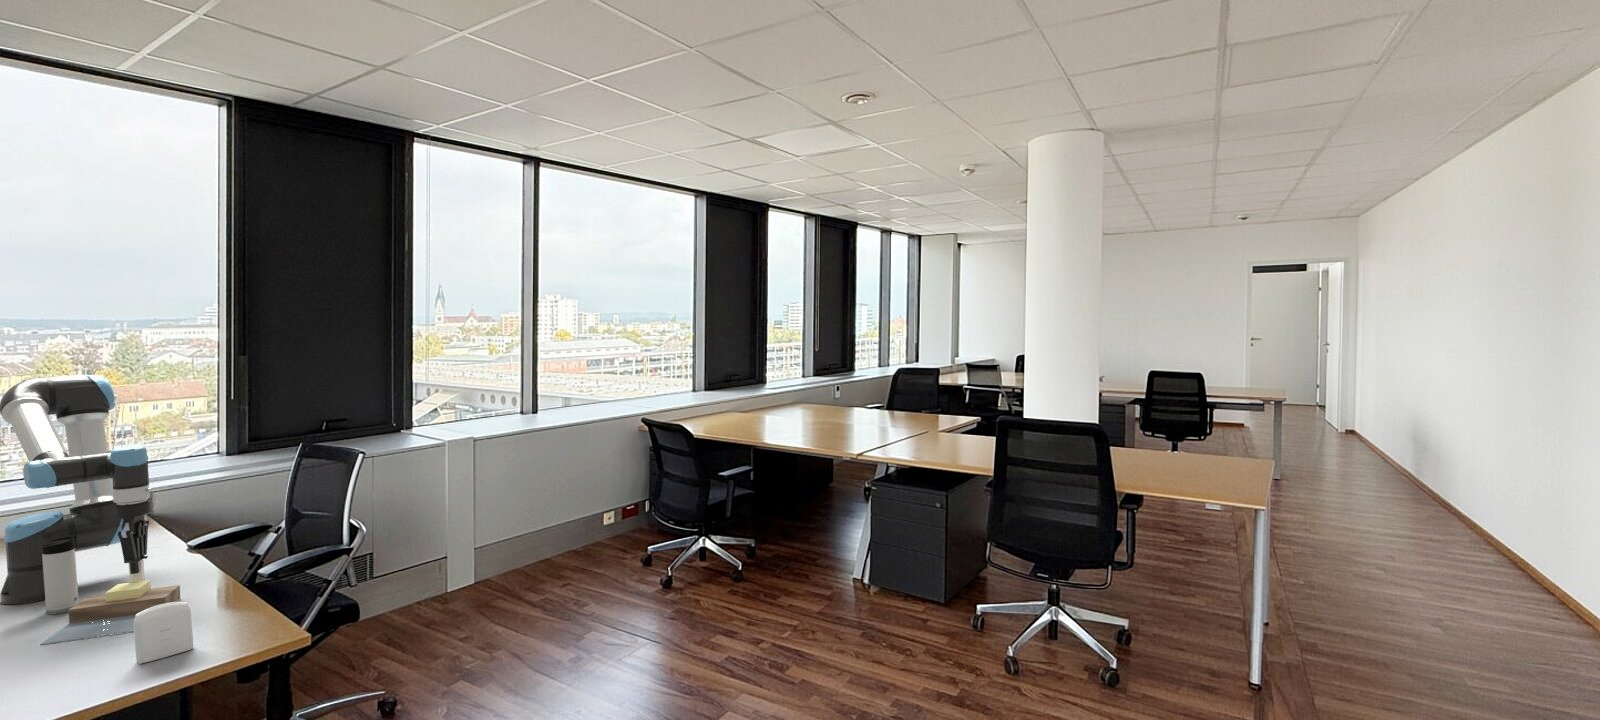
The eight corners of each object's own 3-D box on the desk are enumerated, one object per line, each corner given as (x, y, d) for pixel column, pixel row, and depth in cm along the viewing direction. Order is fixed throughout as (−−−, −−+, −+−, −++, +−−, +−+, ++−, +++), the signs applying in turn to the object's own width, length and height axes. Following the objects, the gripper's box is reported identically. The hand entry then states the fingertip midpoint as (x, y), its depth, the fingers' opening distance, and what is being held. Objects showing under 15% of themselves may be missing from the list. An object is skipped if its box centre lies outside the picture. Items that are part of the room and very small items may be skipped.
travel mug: (85, 606, 199) (80, 536, 198) (54, 615, 193) (49, 543, 192) (72, 603, 201) (67, 534, 200) (41, 613, 195) (35, 541, 194)
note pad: (118, 592, 198) (118, 584, 198) (150, 588, 201) (150, 580, 201) (106, 601, 192) (105, 592, 192) (139, 597, 195) (138, 588, 195)
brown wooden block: (89, 610, 196) (88, 596, 196) (180, 598, 204) (179, 585, 204) (69, 624, 187) (68, 609, 187) (165, 611, 195) (164, 597, 195)
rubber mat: (69, 624, 187) (69, 623, 187) (165, 611, 195) (165, 610, 195) (40, 645, 175) (40, 644, 175) (144, 630, 183) (144, 629, 183)
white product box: (137, 666, 164) (134, 613, 163) (134, 660, 166) (131, 609, 166) (195, 650, 171) (192, 600, 171) (191, 645, 174) (188, 595, 174)
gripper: (138, 505, 196) (144, 589, 197) (159, 495, 207) (164, 574, 209) (103, 508, 193) (109, 593, 194) (125, 497, 204) (131, 578, 206)
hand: (137, 583), depth 201 cm, fingers closed
